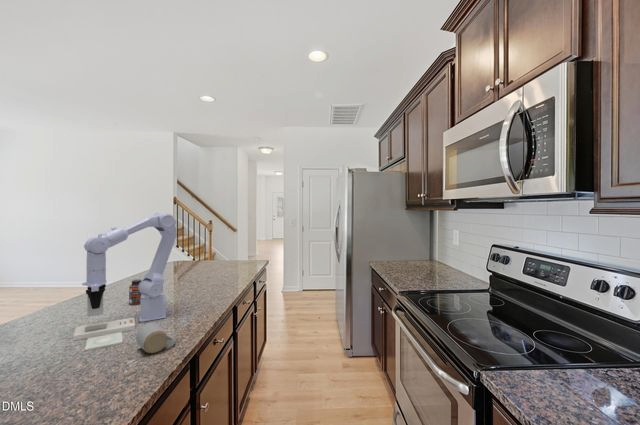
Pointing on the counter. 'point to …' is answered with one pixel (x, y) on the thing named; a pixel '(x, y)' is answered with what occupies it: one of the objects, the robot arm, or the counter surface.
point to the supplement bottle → (134, 293)
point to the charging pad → (103, 341)
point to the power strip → (111, 328)
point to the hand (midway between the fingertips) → (96, 306)
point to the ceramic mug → (153, 338)
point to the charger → (94, 311)
